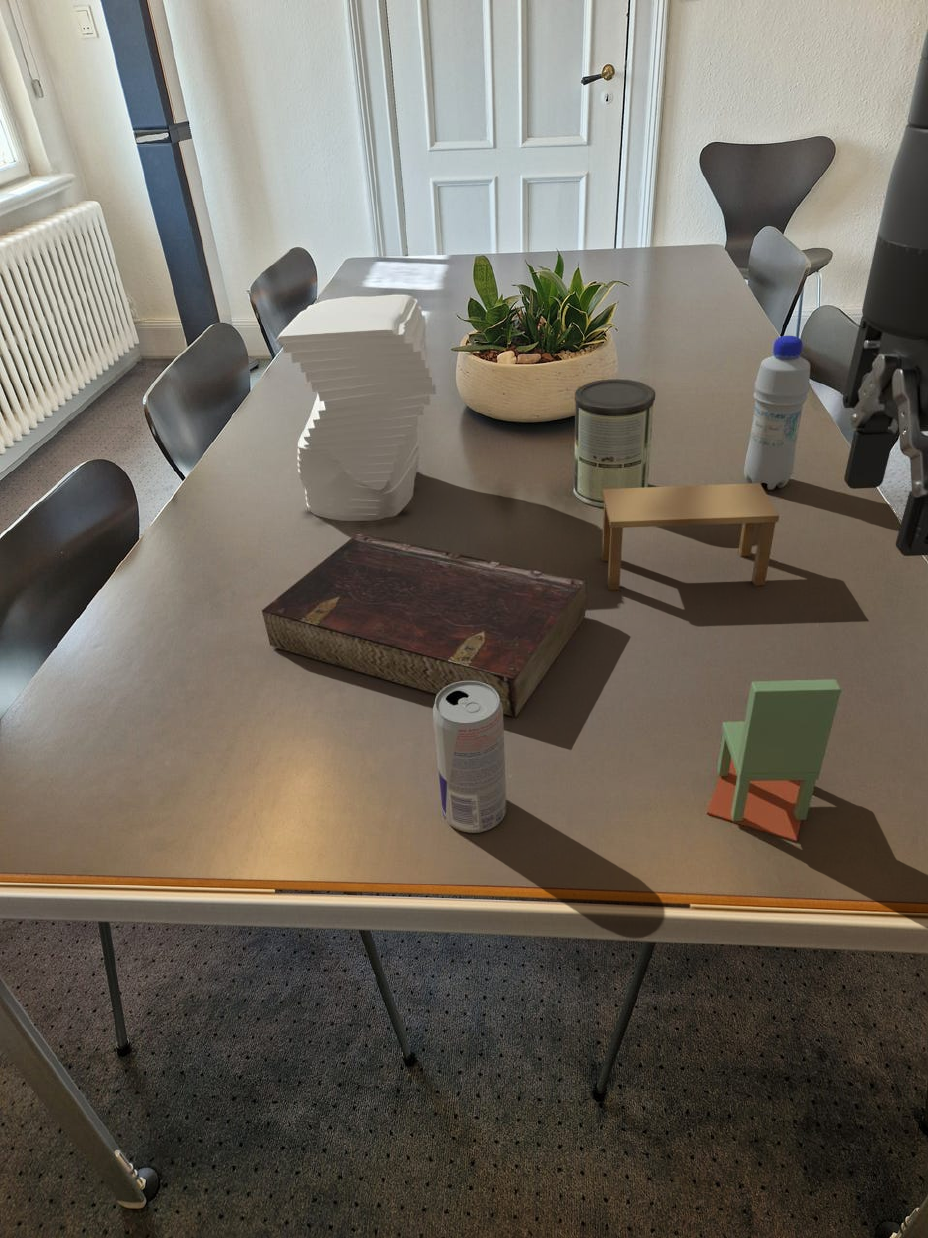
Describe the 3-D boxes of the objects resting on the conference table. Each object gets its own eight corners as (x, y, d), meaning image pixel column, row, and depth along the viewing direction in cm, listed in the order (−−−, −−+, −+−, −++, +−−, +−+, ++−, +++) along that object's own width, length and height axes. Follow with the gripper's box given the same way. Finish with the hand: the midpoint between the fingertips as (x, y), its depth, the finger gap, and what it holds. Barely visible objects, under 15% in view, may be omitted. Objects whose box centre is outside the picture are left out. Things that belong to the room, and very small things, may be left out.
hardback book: (585, 615, 93) (586, 576, 91) (515, 720, 80) (514, 679, 77) (364, 564, 105) (359, 528, 102) (270, 648, 92) (261, 610, 89)
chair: (786, 767, 73) (815, 639, 65) (807, 821, 68) (841, 689, 60) (715, 768, 73) (735, 641, 65) (731, 822, 68) (755, 691, 60)
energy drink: (474, 777, 74) (467, 670, 67) (519, 809, 71) (517, 699, 64) (429, 812, 71) (417, 702, 64) (474, 846, 68) (466, 735, 61)
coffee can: (561, 482, 121) (562, 386, 113) (627, 470, 123) (632, 374, 115) (591, 514, 112) (595, 412, 104) (661, 499, 115) (670, 398, 107)
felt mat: (810, 782, 72) (811, 780, 71) (796, 842, 67) (796, 840, 66) (726, 758, 74) (727, 757, 74) (706, 814, 69) (706, 812, 69)
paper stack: (280, 531, 113) (241, 337, 99) (345, 448, 135) (320, 279, 120) (433, 540, 109) (416, 339, 94) (475, 453, 130) (466, 278, 116)
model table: (749, 550, 103) (760, 482, 98) (767, 586, 96) (779, 515, 91) (599, 555, 104) (602, 488, 99) (607, 591, 97) (610, 521, 92)
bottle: (731, 483, 117) (751, 337, 106) (758, 467, 121) (780, 325, 110) (774, 498, 113) (800, 348, 102) (801, 481, 117) (829, 334, 105)
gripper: (1128, 254, 36) (1009, 577, 45) (972, 198, 48) (903, 464, 57) (947, 264, 37) (866, 582, 46) (836, 206, 48) (790, 469, 57)
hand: (887, 516), depth 51 cm, fingers open, 8 cm apart
